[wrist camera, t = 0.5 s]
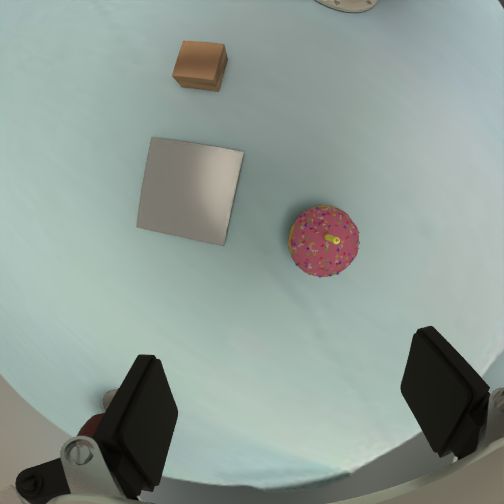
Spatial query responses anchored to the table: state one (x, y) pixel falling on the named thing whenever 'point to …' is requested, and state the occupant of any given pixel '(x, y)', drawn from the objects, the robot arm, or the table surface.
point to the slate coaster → (189, 190)
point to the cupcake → (323, 241)
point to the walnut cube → (200, 65)
